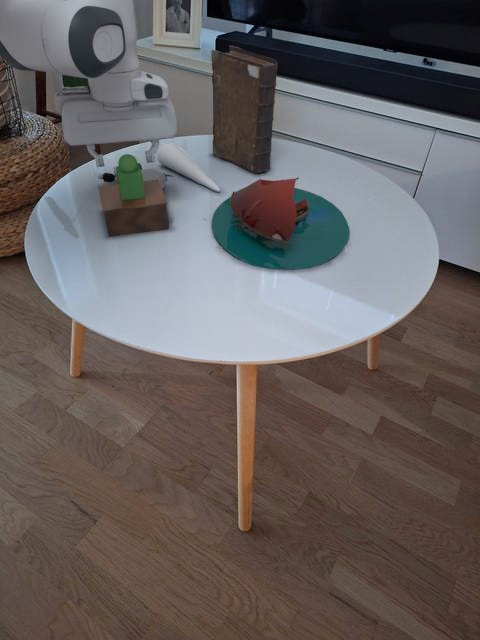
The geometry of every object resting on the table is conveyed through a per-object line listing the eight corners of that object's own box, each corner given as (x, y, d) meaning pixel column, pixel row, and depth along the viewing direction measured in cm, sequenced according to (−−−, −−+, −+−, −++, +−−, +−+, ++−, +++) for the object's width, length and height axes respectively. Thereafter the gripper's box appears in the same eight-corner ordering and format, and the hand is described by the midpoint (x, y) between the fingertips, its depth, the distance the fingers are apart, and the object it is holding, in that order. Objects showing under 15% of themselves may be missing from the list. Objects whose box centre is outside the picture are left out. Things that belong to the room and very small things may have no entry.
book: (273, 171, 116) (282, 60, 99) (251, 178, 113) (257, 64, 96) (232, 149, 125) (233, 44, 109) (210, 155, 122) (209, 48, 105)
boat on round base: (187, 216, 98) (184, 168, 90) (293, 180, 109) (298, 134, 101) (261, 295, 83) (265, 246, 74) (376, 244, 93) (391, 196, 85)
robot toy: (96, 188, 108) (131, 208, 99) (92, 169, 105) (127, 188, 96) (141, 174, 114) (177, 192, 106) (138, 155, 111) (175, 172, 103)
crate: (107, 237, 91) (102, 210, 87) (103, 212, 99) (98, 185, 95) (169, 229, 94) (167, 202, 90) (160, 205, 102) (158, 179, 98)
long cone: (197, 206, 105) (156, 166, 115) (220, 201, 108) (178, 163, 118) (200, 183, 101) (157, 144, 111) (224, 179, 105) (180, 141, 114)
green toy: (122, 200, 90) (115, 160, 85) (119, 190, 93) (113, 151, 88) (145, 197, 91) (140, 158, 86) (141, 187, 94) (137, 149, 89)
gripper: (51, 93, 74) (69, 175, 83) (177, 87, 79) (181, 165, 88) (51, 82, 78) (68, 161, 88) (170, 77, 84) (174, 152, 93)
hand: (125, 163), depth 88 cm, fingers open, 8 cm apart
